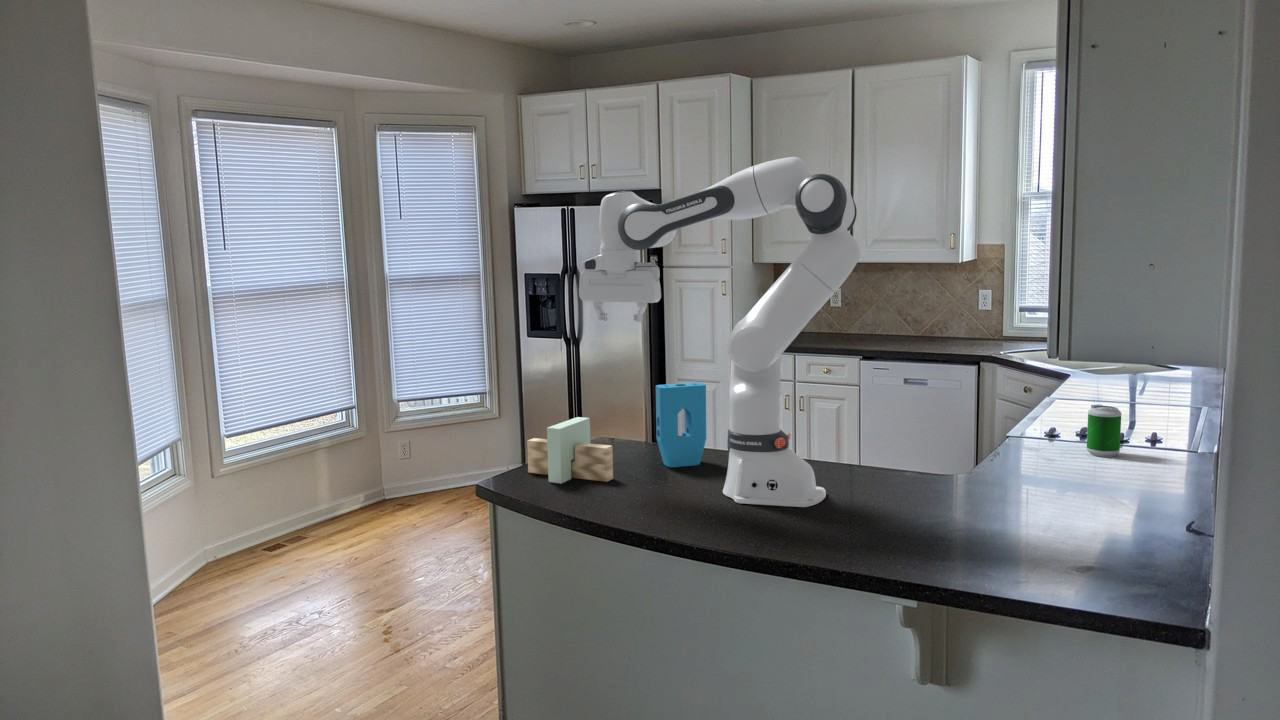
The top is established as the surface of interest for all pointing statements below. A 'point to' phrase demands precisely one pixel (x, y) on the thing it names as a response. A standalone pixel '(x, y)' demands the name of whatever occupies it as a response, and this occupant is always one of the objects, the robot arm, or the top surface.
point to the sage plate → (565, 446)
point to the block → (667, 408)
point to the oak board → (574, 460)
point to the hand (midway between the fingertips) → (620, 321)
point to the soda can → (1103, 431)
